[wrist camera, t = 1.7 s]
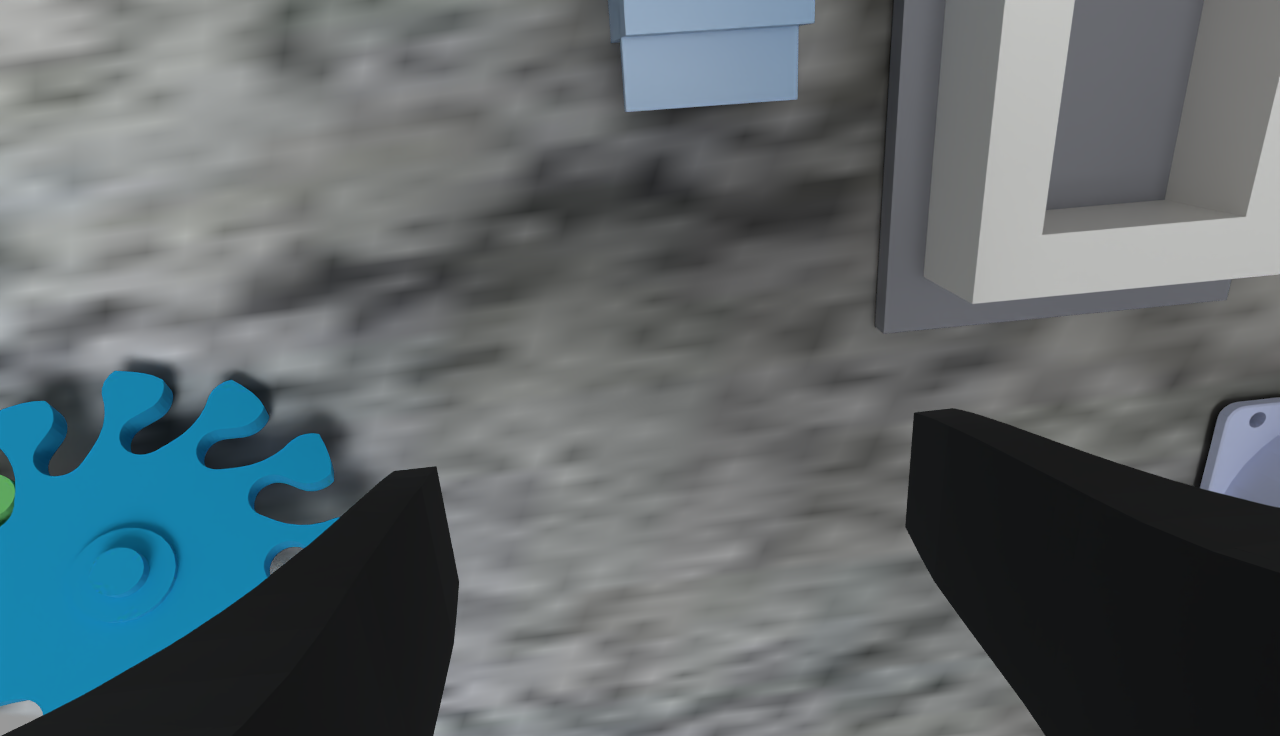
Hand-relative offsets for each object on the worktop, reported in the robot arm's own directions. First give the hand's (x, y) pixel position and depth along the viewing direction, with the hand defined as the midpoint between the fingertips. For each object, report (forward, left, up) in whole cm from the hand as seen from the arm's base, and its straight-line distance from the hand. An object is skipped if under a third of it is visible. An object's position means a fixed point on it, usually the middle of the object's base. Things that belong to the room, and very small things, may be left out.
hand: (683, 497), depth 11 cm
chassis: (-12, -5, -9) cm, 16 cm away
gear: (+12, +4, -10) cm, 16 cm away
